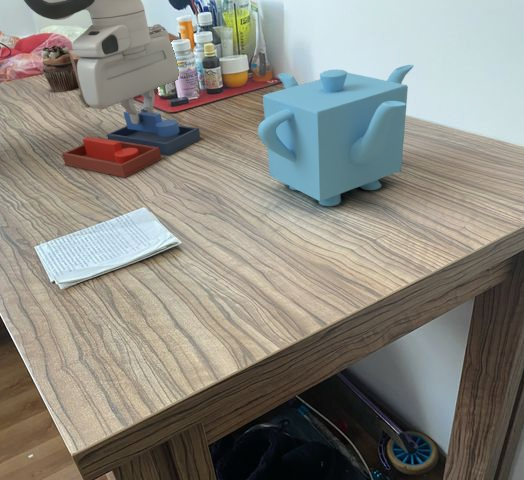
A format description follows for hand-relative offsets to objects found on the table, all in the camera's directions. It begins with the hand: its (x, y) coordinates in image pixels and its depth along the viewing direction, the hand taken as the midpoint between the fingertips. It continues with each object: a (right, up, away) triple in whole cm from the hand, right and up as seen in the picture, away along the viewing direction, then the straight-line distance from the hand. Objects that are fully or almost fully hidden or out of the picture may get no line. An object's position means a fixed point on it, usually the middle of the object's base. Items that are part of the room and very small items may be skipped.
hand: (143, 120), depth 94 cm
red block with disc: (-4, -9, -5) cm, 11 cm away
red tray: (-4, -9, -5) cm, 11 cm away
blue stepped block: (+2, -2, 0) cm, 2 cm away
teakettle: (+33, -19, -21) cm, 44 cm away
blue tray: (+2, -3, +2) cm, 4 cm away
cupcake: (-31, +29, +45) cm, 62 cm away
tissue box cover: (-10, +23, +35) cm, 43 cm away
